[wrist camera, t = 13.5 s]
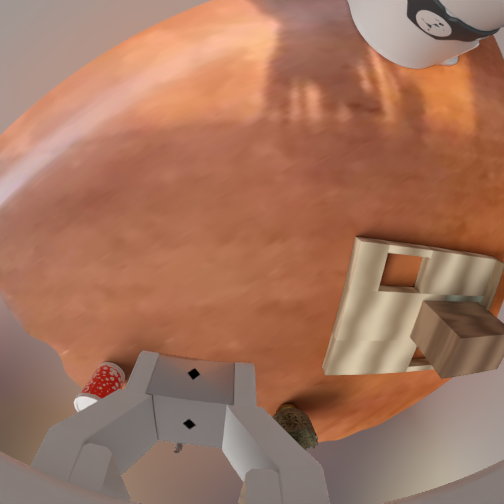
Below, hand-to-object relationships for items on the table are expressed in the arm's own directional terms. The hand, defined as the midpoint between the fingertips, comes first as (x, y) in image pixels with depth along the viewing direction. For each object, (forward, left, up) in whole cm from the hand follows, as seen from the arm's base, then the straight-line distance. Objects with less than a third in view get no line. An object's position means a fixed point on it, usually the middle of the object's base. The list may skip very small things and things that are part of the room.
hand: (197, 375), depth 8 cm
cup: (+26, +22, -29) cm, 45 cm away
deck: (+2, +31, -29) cm, 42 cm away
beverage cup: (+32, -6, -29) cm, 44 cm away
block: (+1, +36, -27) cm, 45 cm away
